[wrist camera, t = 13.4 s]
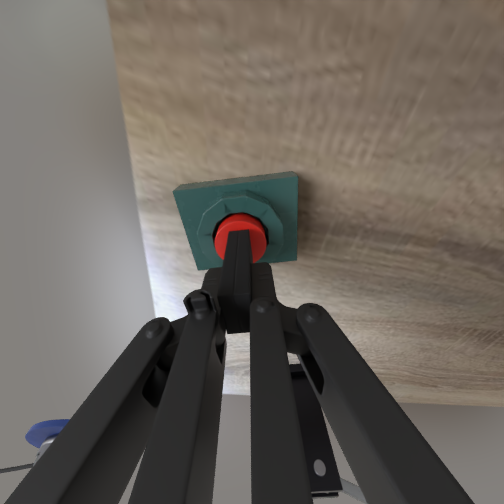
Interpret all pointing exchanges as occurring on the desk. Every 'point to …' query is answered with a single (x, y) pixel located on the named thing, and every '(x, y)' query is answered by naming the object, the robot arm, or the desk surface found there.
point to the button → (241, 223)
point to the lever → (352, 490)
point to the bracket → (315, 438)
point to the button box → (241, 201)
